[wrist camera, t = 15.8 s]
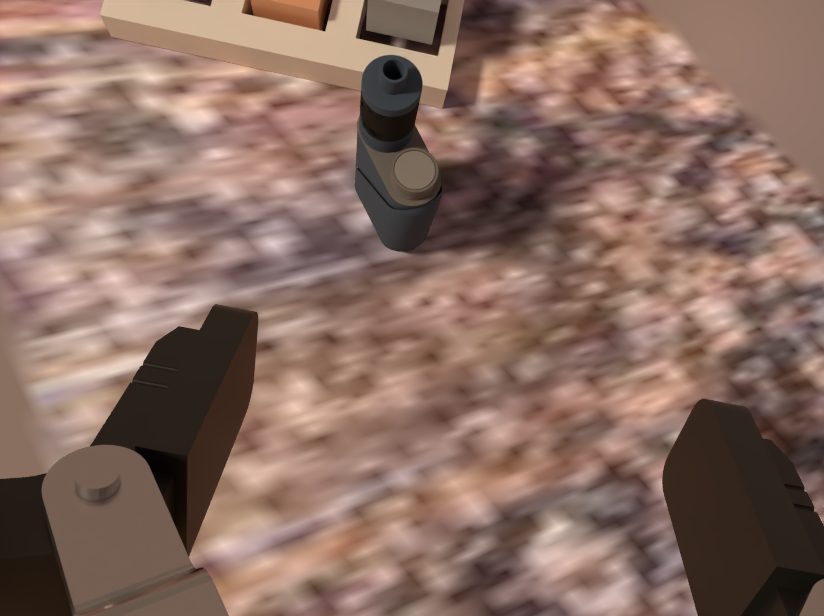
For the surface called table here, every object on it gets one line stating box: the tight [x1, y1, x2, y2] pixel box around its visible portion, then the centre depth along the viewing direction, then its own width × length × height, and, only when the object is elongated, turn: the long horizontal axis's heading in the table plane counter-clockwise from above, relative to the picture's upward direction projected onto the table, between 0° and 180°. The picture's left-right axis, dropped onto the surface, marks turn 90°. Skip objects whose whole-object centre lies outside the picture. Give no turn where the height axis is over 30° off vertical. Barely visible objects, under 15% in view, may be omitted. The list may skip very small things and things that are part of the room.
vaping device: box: [355, 55, 442, 251], centre depth 32 cm, size 3×5×12 cm, turn 26°
